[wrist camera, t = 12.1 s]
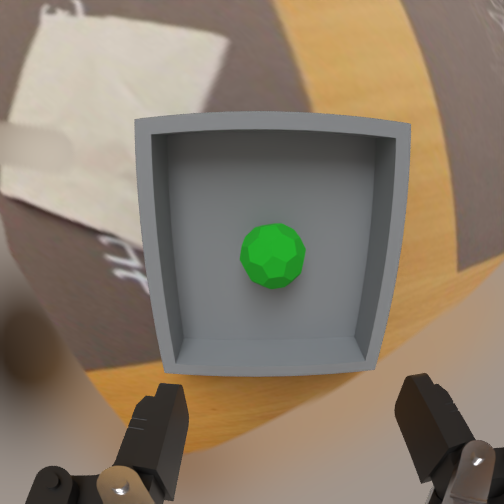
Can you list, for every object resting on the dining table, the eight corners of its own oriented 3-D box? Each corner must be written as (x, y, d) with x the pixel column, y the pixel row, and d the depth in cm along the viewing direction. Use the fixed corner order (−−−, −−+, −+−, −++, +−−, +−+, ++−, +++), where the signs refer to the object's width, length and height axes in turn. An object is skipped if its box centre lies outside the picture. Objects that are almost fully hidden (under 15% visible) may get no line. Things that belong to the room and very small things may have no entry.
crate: (384, 125, 23) (410, 123, 19) (360, 339, 31) (374, 369, 26) (156, 122, 23) (134, 119, 19) (175, 341, 31) (164, 372, 26)
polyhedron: (231, 257, 26) (226, 281, 22) (258, 206, 25) (258, 220, 20) (283, 281, 27) (288, 309, 23) (311, 233, 26) (323, 253, 21)
